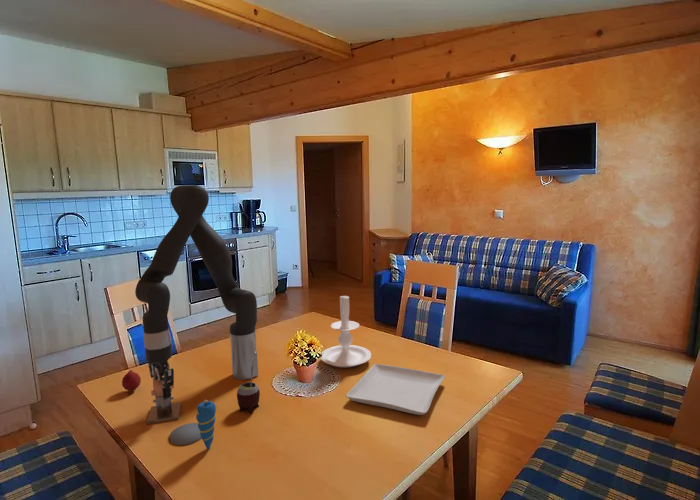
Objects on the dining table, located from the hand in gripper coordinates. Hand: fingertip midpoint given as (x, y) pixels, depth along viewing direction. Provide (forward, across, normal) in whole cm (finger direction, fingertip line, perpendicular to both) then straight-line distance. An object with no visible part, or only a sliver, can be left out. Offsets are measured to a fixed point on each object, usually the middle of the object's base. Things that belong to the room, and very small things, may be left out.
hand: (163, 394), depth 131 cm
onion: (+7, +24, +2) cm, 25 cm away
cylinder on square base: (+7, 0, 0) cm, 7 cm away
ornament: (+7, -27, 0) cm, 28 cm away
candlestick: (+7, -16, -67) cm, 69 cm away
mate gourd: (+7, -18, -20) cm, 27 cm away
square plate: (+8, -48, -59) cm, 76 cm away
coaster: (+7, -16, 0) cm, 18 cm away
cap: (-1, 0, 0) cm, 1 cm away
